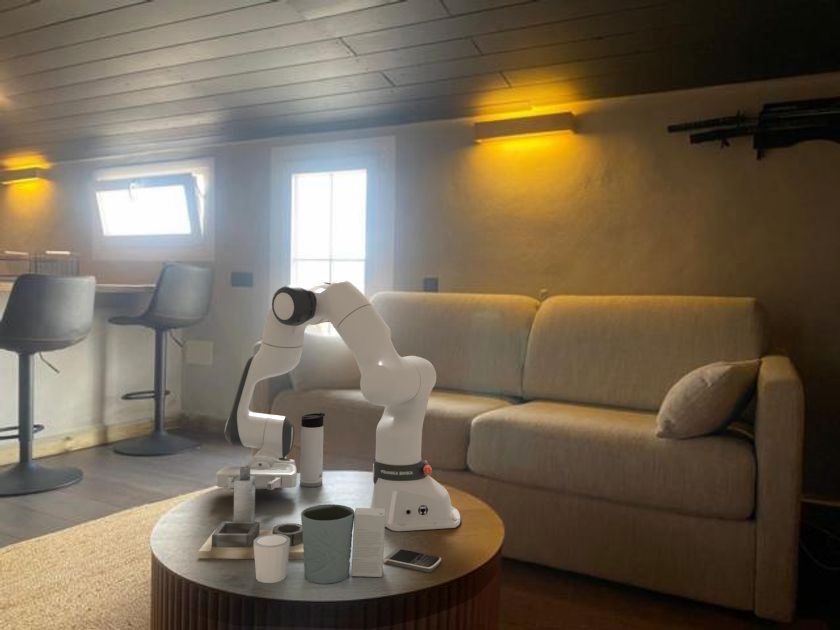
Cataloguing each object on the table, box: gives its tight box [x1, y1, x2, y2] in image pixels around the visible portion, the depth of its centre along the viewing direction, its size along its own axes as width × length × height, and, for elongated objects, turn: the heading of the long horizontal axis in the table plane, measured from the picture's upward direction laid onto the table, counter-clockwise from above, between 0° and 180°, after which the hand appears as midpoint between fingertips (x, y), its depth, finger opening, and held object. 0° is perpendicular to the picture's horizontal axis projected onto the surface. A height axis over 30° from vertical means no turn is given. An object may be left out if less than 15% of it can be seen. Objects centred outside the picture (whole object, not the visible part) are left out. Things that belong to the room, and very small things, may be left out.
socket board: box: [198, 520, 304, 560], centre depth 135 cm, size 22×12×4 cm, turn 92°
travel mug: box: [299, 412, 326, 488], centre depth 181 cm, size 6×7×20 cm
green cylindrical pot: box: [300, 503, 355, 585], centre depth 123 cm, size 10×10×12 cm
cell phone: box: [383, 548, 442, 573], centre depth 130 cm, size 6×11×1 cm, turn 66°
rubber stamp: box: [233, 466, 256, 522], centre depth 151 cm, size 4×4×12 cm
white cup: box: [254, 534, 290, 584], centre depth 122 cm, size 7×7×7 cm
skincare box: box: [350, 507, 386, 578], centre depth 124 cm, size 6×4×12 cm
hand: (250, 486), depth 157 cm, fingers open, 8 cm apart
